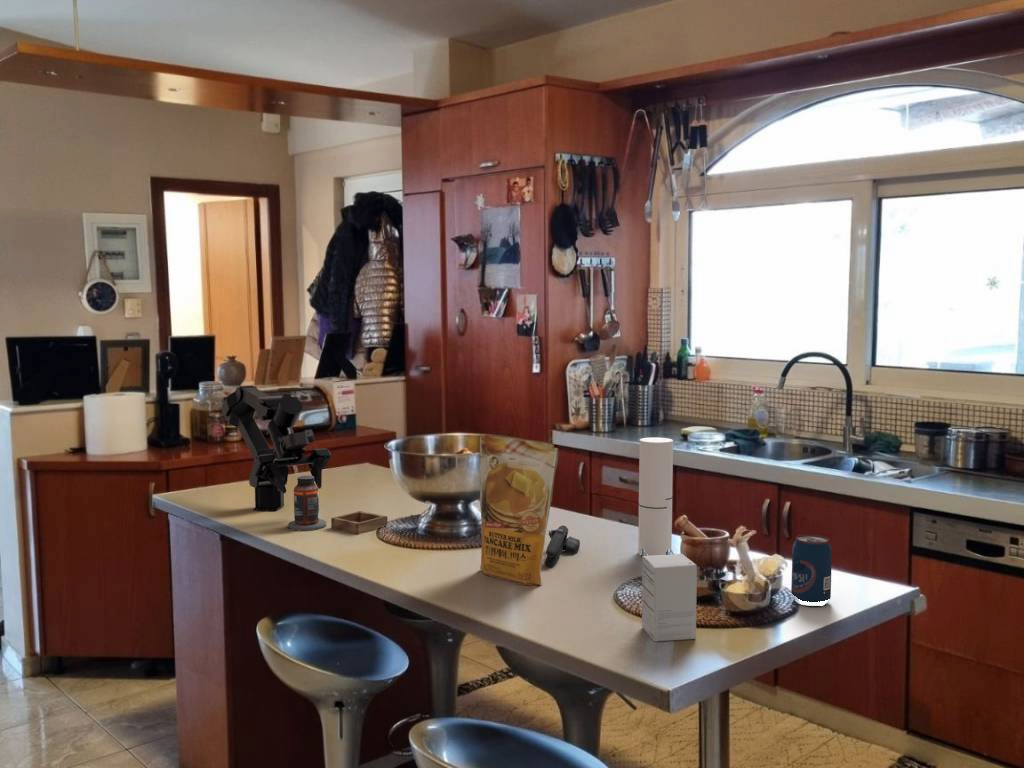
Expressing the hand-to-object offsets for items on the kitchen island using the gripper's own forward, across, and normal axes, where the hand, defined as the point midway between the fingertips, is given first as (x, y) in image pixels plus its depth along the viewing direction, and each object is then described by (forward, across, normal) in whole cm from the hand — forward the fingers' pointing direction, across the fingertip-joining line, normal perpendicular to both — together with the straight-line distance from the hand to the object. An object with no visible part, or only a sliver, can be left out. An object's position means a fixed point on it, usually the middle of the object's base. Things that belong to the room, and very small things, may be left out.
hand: (302, 489), depth 240 cm
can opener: (+48, +32, -36) cm, 68 cm away
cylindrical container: (+55, +50, -44) cm, 87 cm away
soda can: (+84, +50, -74) cm, 122 cm away
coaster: (+8, 0, +4) cm, 9 cm away
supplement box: (+81, +17, -71) cm, 109 cm away
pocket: (+14, +10, -2) cm, 17 cm away
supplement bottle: (+7, 0, +4) cm, 8 cm away
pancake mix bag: (+52, +15, -41) cm, 68 cm away
